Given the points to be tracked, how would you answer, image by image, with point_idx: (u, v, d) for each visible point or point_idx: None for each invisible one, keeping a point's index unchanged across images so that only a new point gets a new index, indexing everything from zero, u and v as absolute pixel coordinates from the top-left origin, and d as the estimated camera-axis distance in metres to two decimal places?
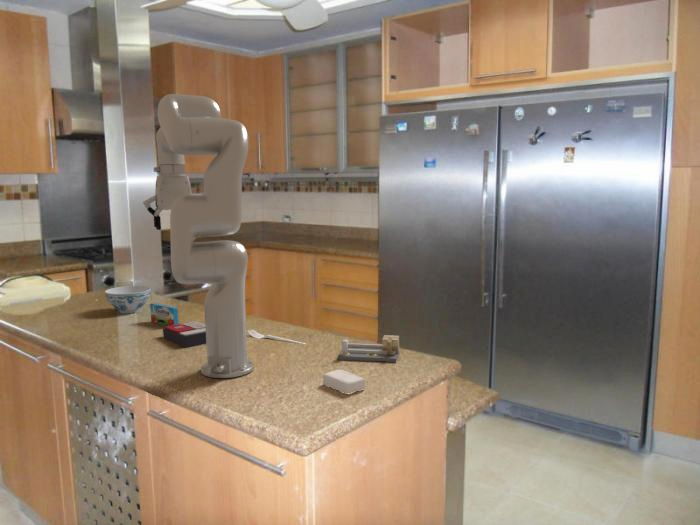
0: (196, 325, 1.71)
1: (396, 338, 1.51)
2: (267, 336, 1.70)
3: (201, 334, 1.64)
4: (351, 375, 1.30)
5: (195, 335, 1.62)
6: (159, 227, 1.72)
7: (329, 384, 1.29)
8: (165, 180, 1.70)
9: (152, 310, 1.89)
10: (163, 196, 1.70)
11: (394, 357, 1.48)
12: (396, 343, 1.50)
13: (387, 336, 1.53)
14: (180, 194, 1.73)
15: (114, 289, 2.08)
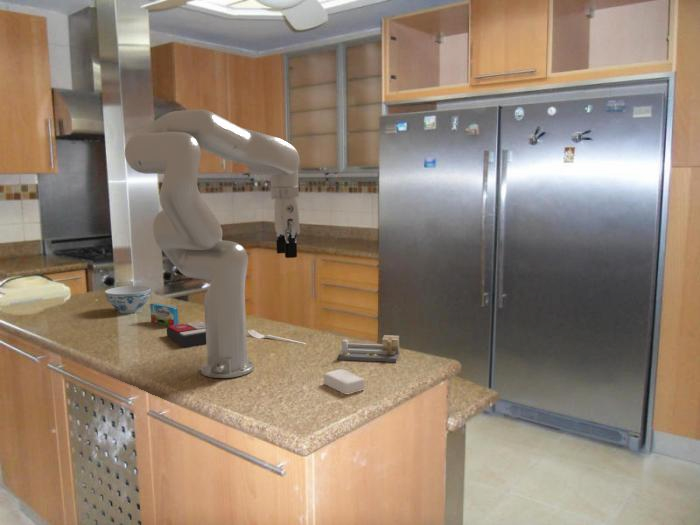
0: (199, 325, 1.71)
1: (396, 338, 1.51)
2: (267, 336, 1.70)
3: (200, 334, 1.63)
4: (351, 375, 1.30)
5: (194, 335, 1.62)
6: None
7: (329, 384, 1.30)
8: None
9: (152, 310, 1.89)
10: None
11: (394, 357, 1.48)
12: (396, 343, 1.50)
13: (387, 336, 1.53)
14: None
15: (114, 289, 2.08)
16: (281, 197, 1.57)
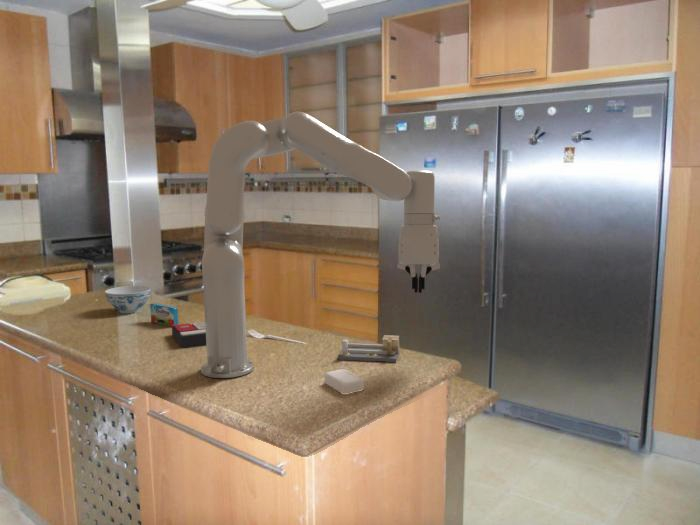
0: (202, 325, 1.71)
1: (396, 338, 1.51)
2: (267, 336, 1.70)
3: (199, 335, 1.62)
4: (351, 375, 1.30)
5: (193, 336, 1.62)
6: None
7: (329, 383, 1.30)
8: None
9: (152, 310, 1.89)
10: None
11: (394, 357, 1.48)
12: (396, 343, 1.50)
13: (387, 336, 1.53)
14: None
15: (114, 289, 2.08)
16: (431, 224, 1.44)
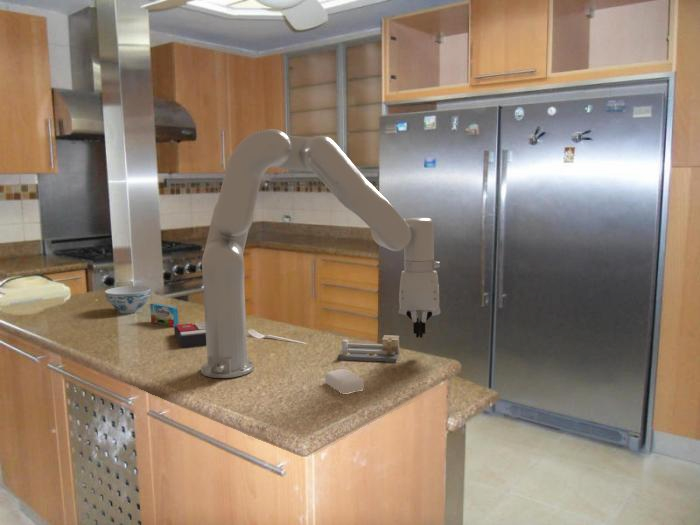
0: (203, 326, 1.71)
1: (396, 338, 1.51)
2: (267, 336, 1.70)
3: (199, 335, 1.62)
4: (351, 375, 1.30)
5: (192, 336, 1.61)
6: None
7: (329, 383, 1.30)
8: None
9: (152, 310, 1.89)
10: None
11: (394, 357, 1.48)
12: (396, 343, 1.50)
13: (387, 336, 1.53)
14: None
15: (114, 289, 2.08)
16: (431, 271, 1.46)
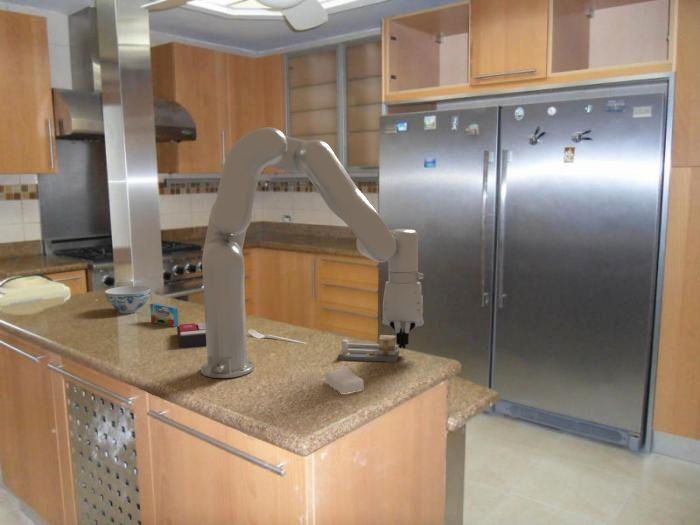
0: None
1: (392, 338, 1.52)
2: (267, 336, 1.70)
3: (198, 336, 1.62)
4: (352, 375, 1.30)
5: (191, 336, 1.61)
6: None
7: (330, 382, 1.30)
8: None
9: (152, 310, 1.89)
10: None
11: (394, 357, 1.48)
12: (392, 343, 1.50)
13: (384, 336, 1.54)
14: None
15: (114, 289, 2.08)
16: (415, 282, 1.47)
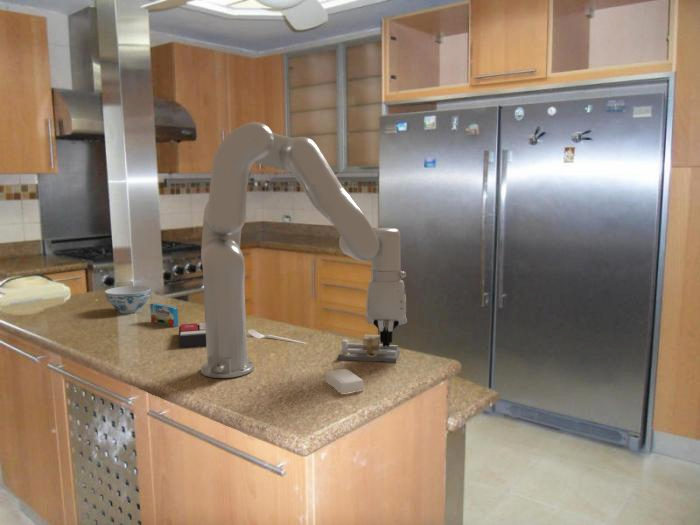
0: None
1: (377, 337, 1.52)
2: (268, 336, 1.70)
3: (197, 336, 1.62)
4: (352, 375, 1.30)
5: (191, 336, 1.61)
6: None
7: (330, 382, 1.30)
8: None
9: (152, 310, 1.89)
10: None
11: (394, 357, 1.48)
12: (376, 342, 1.51)
13: (368, 335, 1.54)
14: None
15: (114, 289, 2.08)
16: (397, 281, 1.48)
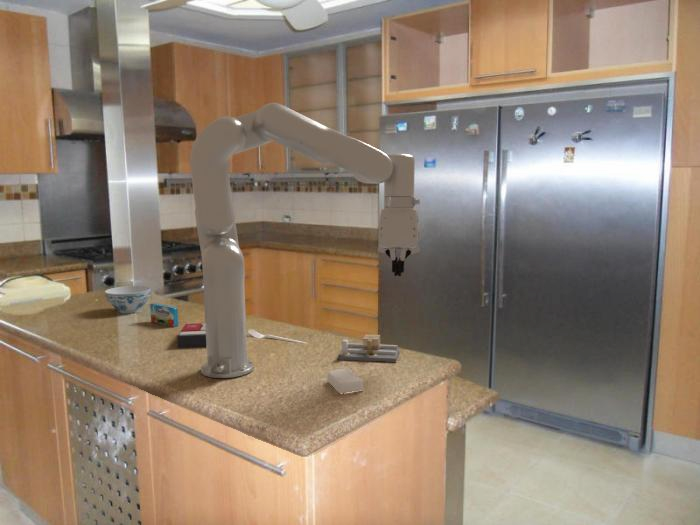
0: None
1: (377, 337, 1.52)
2: (268, 336, 1.70)
3: (196, 336, 1.61)
4: (352, 375, 1.29)
5: (189, 336, 1.61)
6: None
7: (330, 382, 1.31)
8: None
9: (152, 310, 1.89)
10: None
11: (394, 357, 1.48)
12: (377, 342, 1.51)
13: (369, 335, 1.54)
14: None
15: (114, 289, 2.08)
16: (411, 207, 1.45)
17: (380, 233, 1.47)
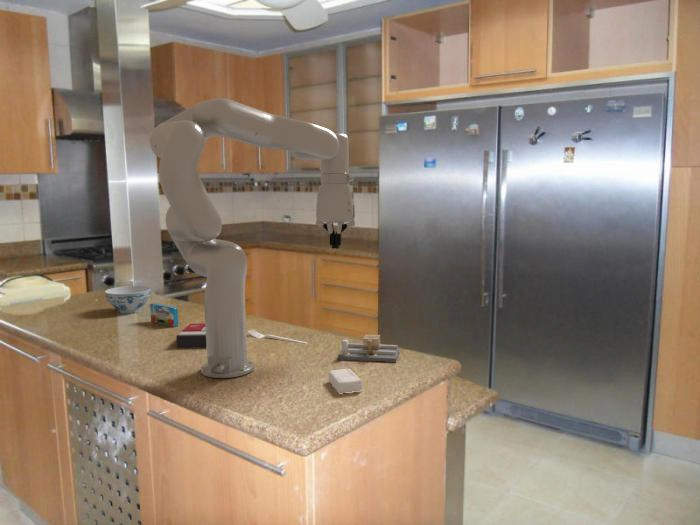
0: None
1: (377, 337, 1.52)
2: (268, 336, 1.70)
3: (194, 337, 1.61)
4: (352, 375, 1.29)
5: (188, 337, 1.61)
6: None
7: (331, 381, 1.31)
8: None
9: (152, 310, 1.89)
10: None
11: (394, 357, 1.48)
12: (377, 342, 1.51)
13: (369, 335, 1.54)
14: None
15: (114, 289, 2.08)
16: (345, 183, 1.55)
17: (317, 208, 1.57)
